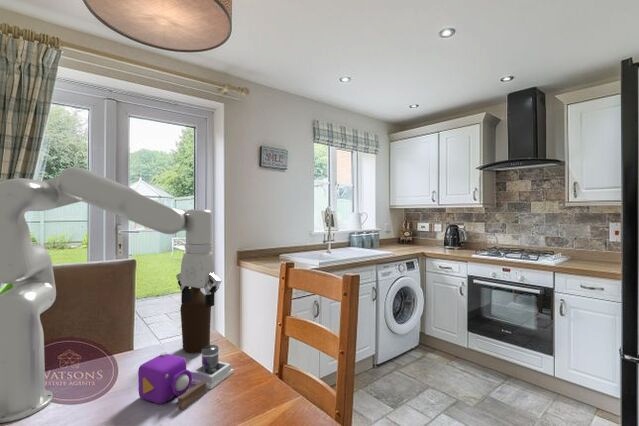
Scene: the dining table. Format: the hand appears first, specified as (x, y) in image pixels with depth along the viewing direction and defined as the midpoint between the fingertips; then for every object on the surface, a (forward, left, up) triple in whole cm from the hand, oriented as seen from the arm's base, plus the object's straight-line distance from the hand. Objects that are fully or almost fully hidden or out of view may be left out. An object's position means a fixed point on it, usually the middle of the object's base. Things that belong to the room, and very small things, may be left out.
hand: (197, 304), depth 99 cm
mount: (+4, +1, -22) cm, 23 cm away
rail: (+8, -11, -22) cm, 26 cm away
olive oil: (-15, +15, -23) cm, 31 cm away
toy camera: (0, -11, -23) cm, 25 cm away
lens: (+4, +1, -21) cm, 22 cm away
